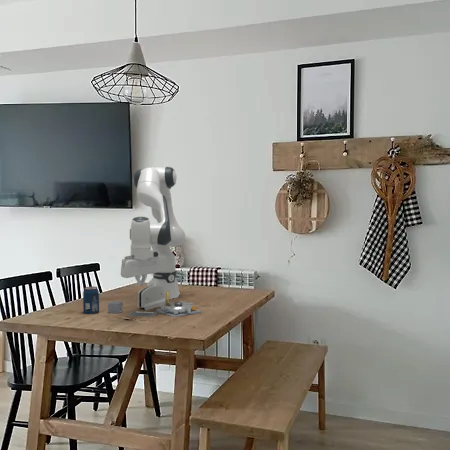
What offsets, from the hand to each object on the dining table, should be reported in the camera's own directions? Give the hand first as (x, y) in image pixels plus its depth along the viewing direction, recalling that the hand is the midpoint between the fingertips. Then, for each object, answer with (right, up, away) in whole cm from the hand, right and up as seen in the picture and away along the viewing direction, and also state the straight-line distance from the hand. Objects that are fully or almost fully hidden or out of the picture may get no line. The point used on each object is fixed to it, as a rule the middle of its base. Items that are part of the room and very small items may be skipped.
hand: (141, 285), depth 228 cm
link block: (-10, -11, +8) cm, 17 cm away
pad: (0, -14, +1) cm, 14 cm away
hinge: (+3, -13, +20) cm, 24 cm away
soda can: (-24, -14, +7) cm, 28 cm away
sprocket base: (+16, -14, +9) cm, 23 cm away
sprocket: (+16, -12, +9) cm, 22 cm away
